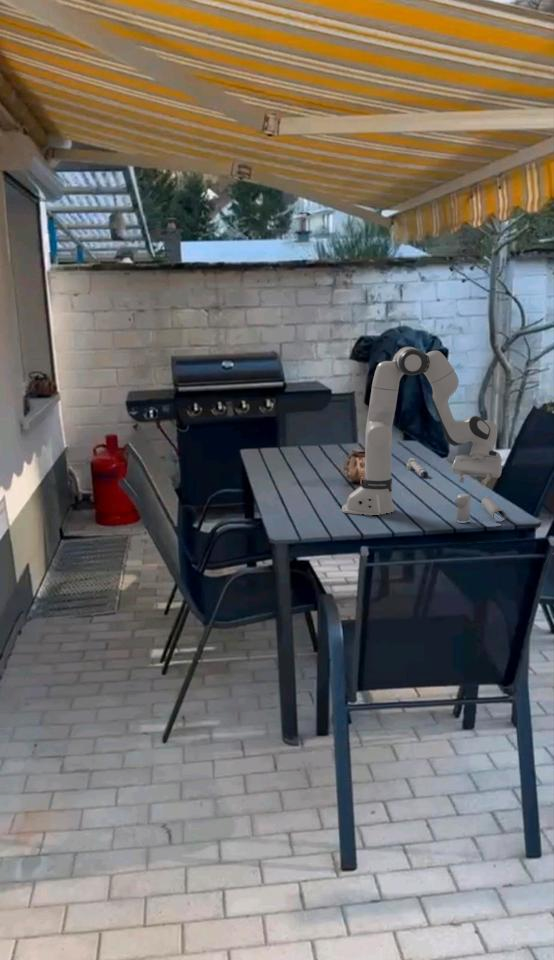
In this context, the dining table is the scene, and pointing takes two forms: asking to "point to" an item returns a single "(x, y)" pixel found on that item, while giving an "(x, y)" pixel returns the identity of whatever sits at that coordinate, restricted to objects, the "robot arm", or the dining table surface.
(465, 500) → the elbow
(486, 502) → the tube
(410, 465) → the cream ribbed cylinder
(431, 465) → the dining table surface
